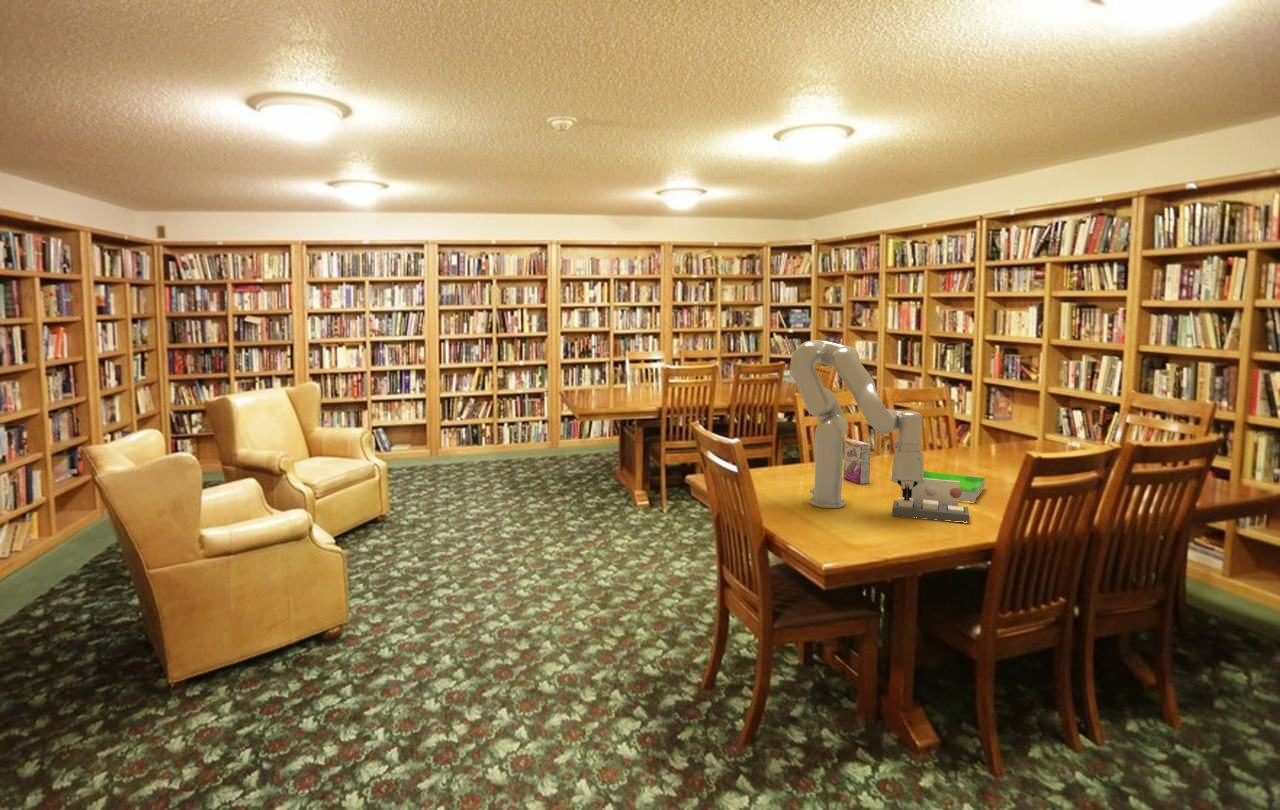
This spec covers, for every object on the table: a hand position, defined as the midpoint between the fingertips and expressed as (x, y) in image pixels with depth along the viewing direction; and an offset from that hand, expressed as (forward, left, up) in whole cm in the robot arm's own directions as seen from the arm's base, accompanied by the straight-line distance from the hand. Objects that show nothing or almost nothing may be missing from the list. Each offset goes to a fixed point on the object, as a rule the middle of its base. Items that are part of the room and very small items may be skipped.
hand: (906, 499), depth 252 cm
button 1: (0, 0, -3) cm, 3 cm away
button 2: (+11, +11, -4) cm, 16 cm away
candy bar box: (-44, +14, -5) cm, 46 cm away
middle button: (+5, +5, -3) cm, 8 cm away
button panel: (+4, +7, -5) cm, 9 cm away
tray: (-17, +34, -6) cm, 39 cm away
